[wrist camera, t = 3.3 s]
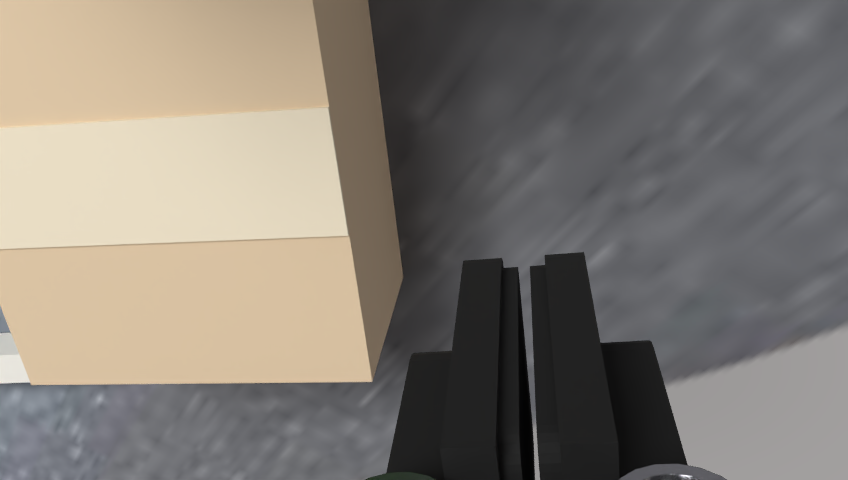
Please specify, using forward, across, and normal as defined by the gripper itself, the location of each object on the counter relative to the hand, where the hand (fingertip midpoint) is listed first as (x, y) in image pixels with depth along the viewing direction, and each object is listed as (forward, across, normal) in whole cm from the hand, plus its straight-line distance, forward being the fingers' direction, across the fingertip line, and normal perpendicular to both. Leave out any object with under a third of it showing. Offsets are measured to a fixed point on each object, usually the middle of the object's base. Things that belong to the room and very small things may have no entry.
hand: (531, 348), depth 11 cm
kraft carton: (+14, +9, 0) cm, 16 cm away
